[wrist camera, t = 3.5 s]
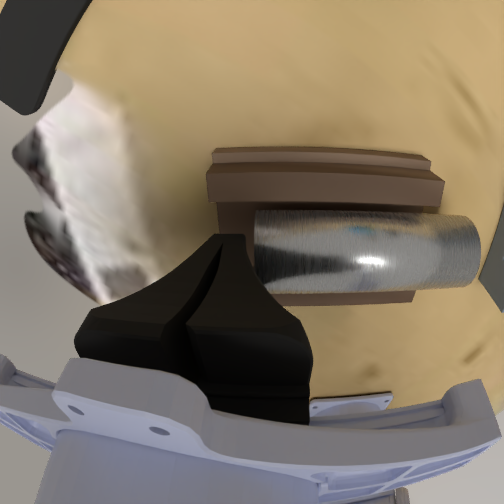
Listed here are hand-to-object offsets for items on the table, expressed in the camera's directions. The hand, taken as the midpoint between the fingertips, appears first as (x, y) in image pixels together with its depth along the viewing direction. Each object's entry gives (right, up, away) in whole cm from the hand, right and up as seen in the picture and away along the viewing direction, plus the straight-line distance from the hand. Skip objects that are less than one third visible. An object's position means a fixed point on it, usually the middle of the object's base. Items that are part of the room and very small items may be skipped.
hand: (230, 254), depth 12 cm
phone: (-10, +15, -4) cm, 18 cm away
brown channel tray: (+4, +2, +2) cm, 5 cm away
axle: (+6, 0, 0) cm, 6 cm away
